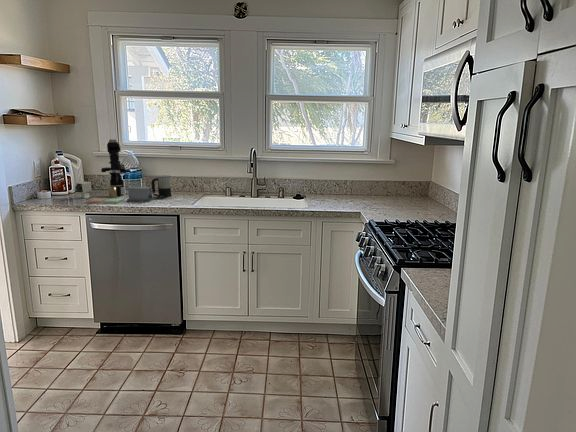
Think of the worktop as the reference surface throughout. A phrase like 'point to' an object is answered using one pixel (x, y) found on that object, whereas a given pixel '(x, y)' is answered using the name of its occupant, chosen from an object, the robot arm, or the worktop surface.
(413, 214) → the worktop surface
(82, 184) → the pneumatic valve
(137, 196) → the graphite housing
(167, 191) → the coffee carafe
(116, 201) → the sage pad
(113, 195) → the bronze cartridge
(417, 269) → the worktop surface
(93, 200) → the terracotta pad
